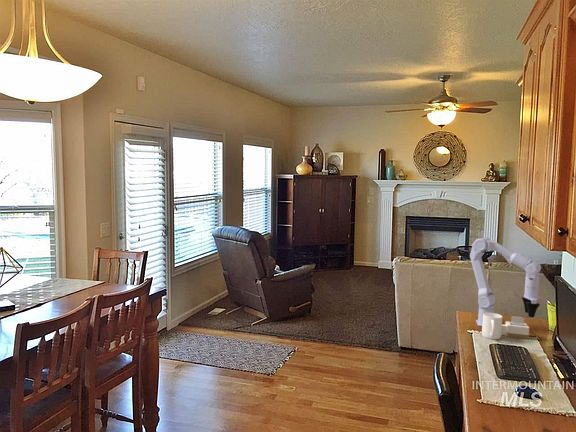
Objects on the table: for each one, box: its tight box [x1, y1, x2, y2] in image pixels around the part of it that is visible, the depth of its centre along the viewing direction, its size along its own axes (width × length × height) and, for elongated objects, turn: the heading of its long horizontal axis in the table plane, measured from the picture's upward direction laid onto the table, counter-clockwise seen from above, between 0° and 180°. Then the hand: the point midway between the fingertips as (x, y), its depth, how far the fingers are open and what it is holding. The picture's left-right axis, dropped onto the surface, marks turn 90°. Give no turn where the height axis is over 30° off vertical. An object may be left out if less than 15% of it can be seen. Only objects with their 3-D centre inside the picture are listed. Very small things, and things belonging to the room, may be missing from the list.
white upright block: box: [510, 315, 525, 326], centre depth 223 cm, size 2×5×7 cm, turn 75°
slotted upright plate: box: [501, 320, 530, 340], centre depth 224 cm, size 7×18×6 cm, turn 74°
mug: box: [481, 312, 503, 340], centre depth 219 cm, size 12×8×10 cm
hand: (529, 314), depth 226 cm, fingers open, 7 cm apart
